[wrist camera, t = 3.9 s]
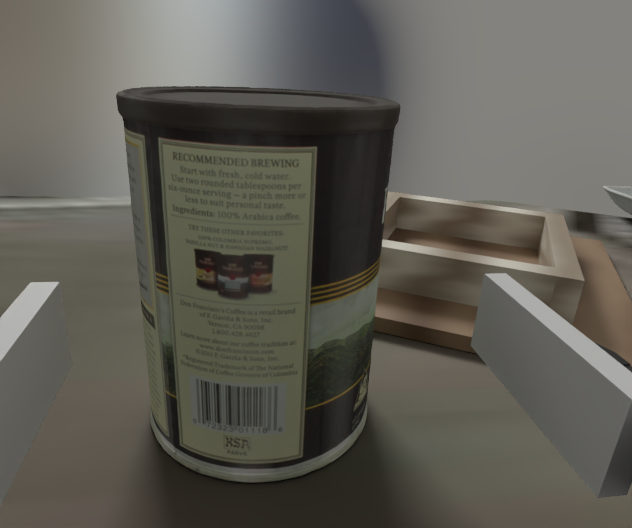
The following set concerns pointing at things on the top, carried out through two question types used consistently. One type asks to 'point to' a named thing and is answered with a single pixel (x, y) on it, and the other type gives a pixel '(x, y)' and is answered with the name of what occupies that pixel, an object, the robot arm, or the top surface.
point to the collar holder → (491, 271)
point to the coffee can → (257, 269)
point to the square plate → (621, 196)
